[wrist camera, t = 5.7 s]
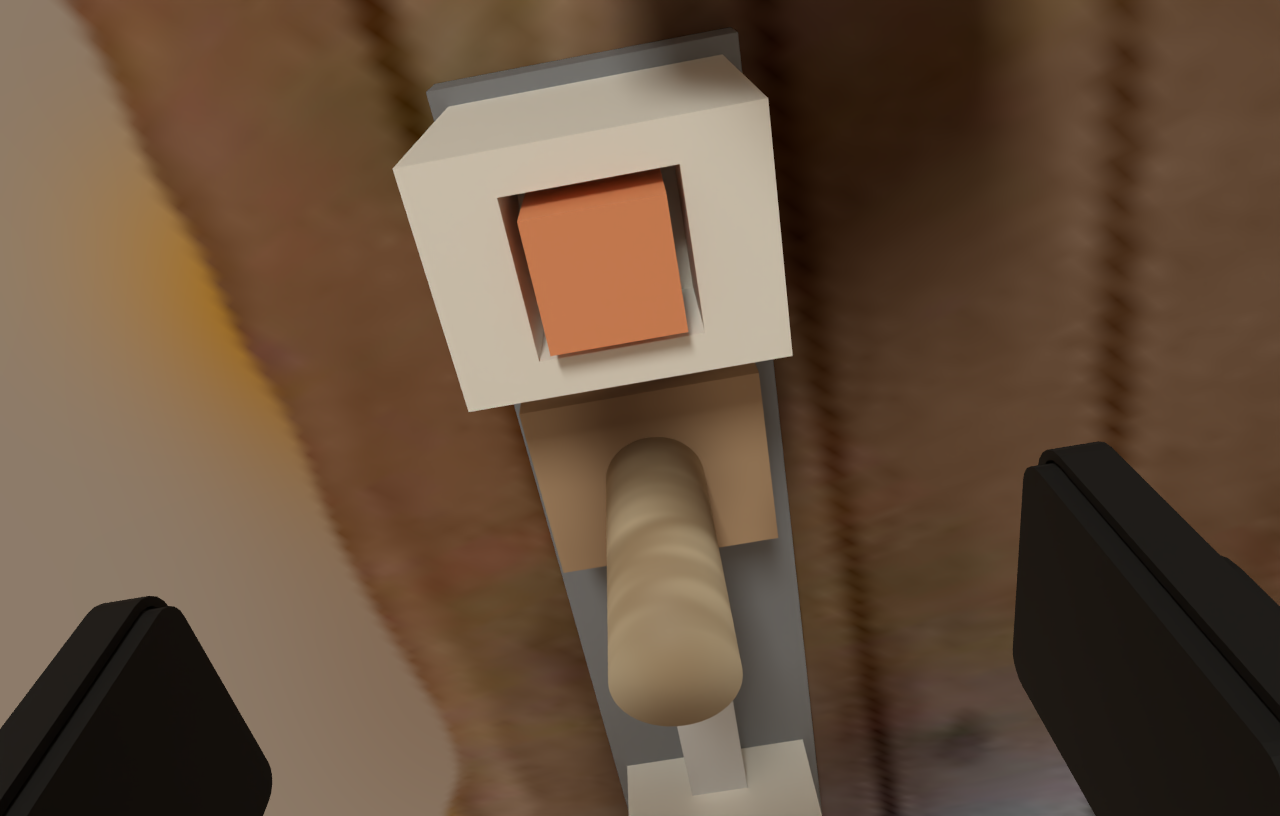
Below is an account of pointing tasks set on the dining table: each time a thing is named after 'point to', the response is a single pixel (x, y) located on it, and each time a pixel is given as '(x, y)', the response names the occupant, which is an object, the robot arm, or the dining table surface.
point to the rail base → (636, 351)
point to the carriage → (659, 524)
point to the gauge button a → (603, 262)
